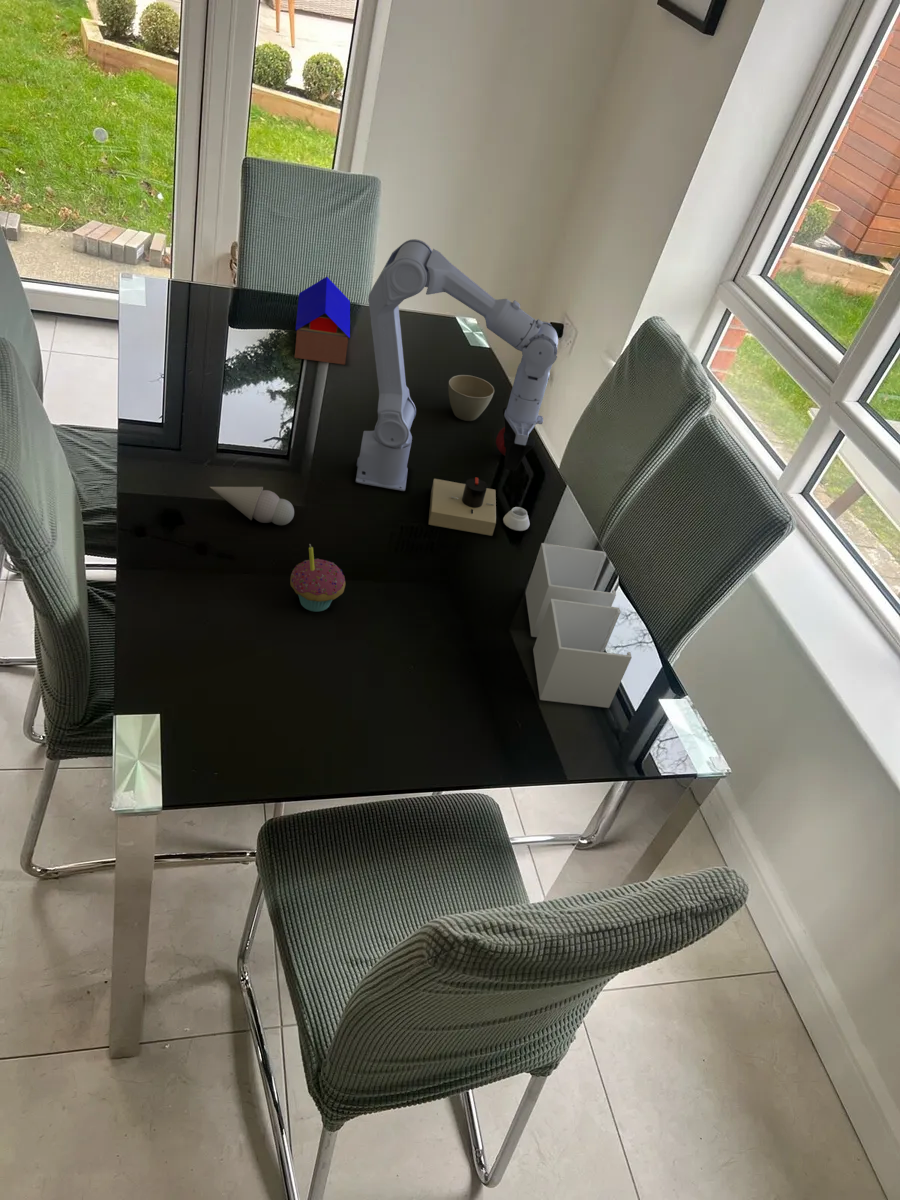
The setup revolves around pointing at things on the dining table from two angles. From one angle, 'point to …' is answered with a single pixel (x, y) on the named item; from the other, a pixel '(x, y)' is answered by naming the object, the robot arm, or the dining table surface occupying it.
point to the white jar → (517, 519)
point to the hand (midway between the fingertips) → (509, 457)
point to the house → (322, 323)
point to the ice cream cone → (258, 504)
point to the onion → (501, 441)
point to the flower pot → (469, 396)
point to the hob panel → (461, 509)
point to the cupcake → (317, 582)
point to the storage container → (573, 628)
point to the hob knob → (474, 492)
